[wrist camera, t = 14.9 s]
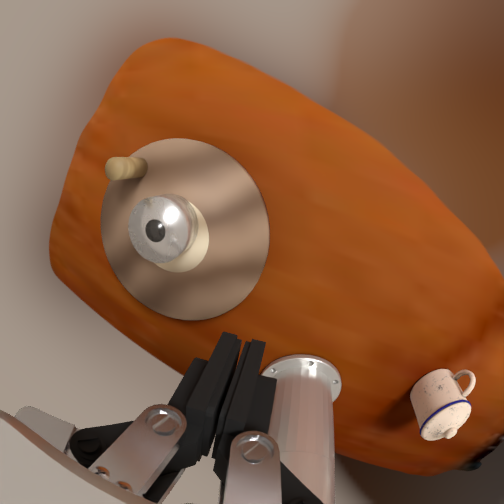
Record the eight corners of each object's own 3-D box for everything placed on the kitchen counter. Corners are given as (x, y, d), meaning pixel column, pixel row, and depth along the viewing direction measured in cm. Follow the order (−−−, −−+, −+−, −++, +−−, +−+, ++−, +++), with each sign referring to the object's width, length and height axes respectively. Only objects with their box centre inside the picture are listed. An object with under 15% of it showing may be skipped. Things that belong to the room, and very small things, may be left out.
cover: (208, 240, 30) (197, 250, 27) (160, 261, 32) (145, 271, 28) (182, 182, 29) (168, 184, 25) (136, 209, 30) (118, 214, 27)
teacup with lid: (427, 408, 36) (443, 454, 25) (398, 397, 36) (412, 449, 25) (472, 362, 32) (499, 406, 21) (447, 346, 32) (477, 394, 21)
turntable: (302, 279, 31) (301, 306, 25) (157, 331, 37) (135, 357, 31) (215, 104, 27) (193, 89, 21) (86, 197, 33) (54, 204, 27)
